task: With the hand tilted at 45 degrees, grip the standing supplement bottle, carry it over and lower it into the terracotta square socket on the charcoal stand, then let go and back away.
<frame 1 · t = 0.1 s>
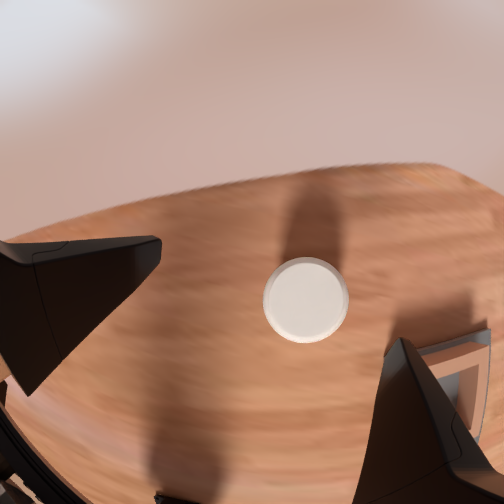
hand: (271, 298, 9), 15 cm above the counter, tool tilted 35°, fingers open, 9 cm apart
socket stand: (426, 395, 19), on the counter
supplement bottle: (305, 300, 23), on the counter
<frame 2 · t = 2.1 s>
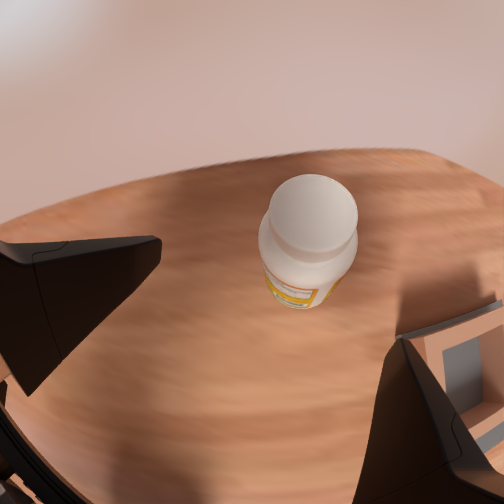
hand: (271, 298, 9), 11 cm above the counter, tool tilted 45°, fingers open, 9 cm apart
socket stand: (448, 380, 16), on the counter
supplement bottle: (300, 275, 21), on the counter
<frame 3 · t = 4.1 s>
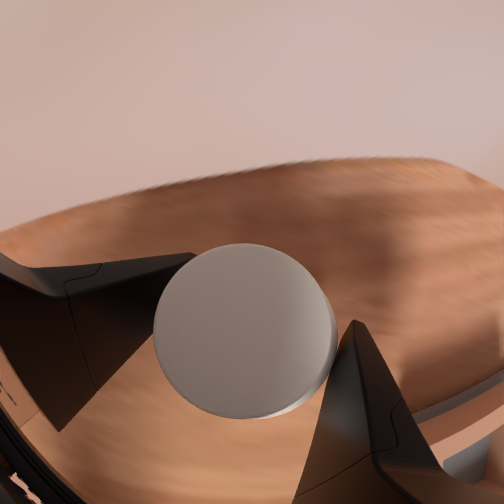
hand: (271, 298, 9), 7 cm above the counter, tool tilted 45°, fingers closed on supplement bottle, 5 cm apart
socket stand: (447, 461, 10), on the counter
supplement bottle: (265, 344, 15), on the counter, touching gripper
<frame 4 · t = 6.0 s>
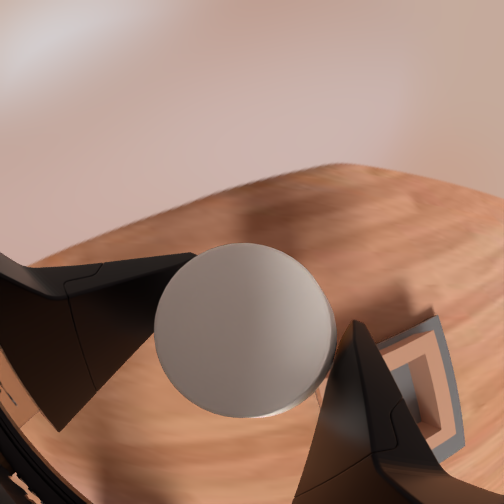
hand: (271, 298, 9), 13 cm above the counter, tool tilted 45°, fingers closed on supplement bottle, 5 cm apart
socket stand: (376, 404, 18), on the counter
supplement bottle: (264, 343, 15), point 6 cm above the counter, touching gripper
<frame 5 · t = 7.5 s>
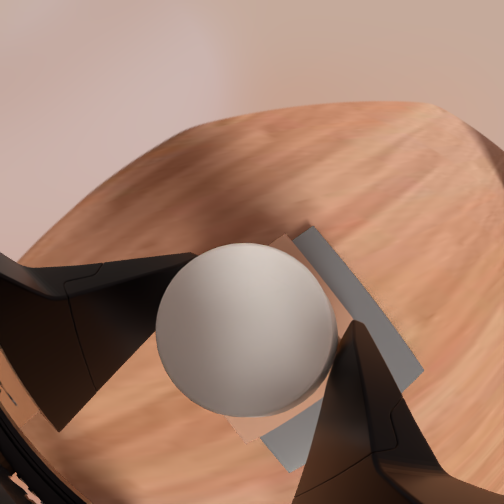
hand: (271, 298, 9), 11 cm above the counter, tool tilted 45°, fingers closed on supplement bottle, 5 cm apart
socket stand: (271, 342, 19), on the counter
supplement bottle: (265, 343, 15), point 4 cm above the counter, touching gripper
when the fingers open (9 cm above the counter, at t = 8.3 s): supplement bottle drops 1 cm, resting on socket stand.
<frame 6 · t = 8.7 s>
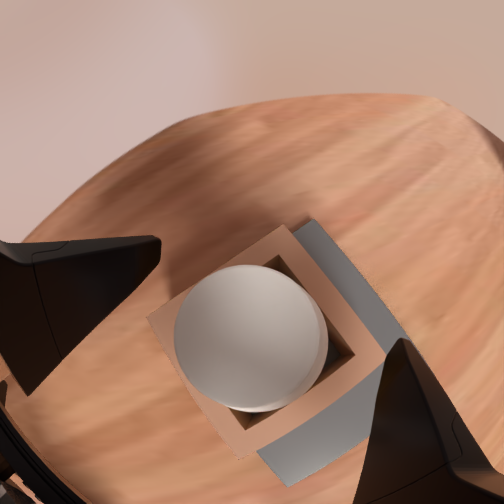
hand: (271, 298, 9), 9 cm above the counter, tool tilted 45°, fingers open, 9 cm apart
socket stand: (267, 345, 17), on the counter
supplement bottle: (265, 348, 16), point 1 cm above the counter, touching socket stand
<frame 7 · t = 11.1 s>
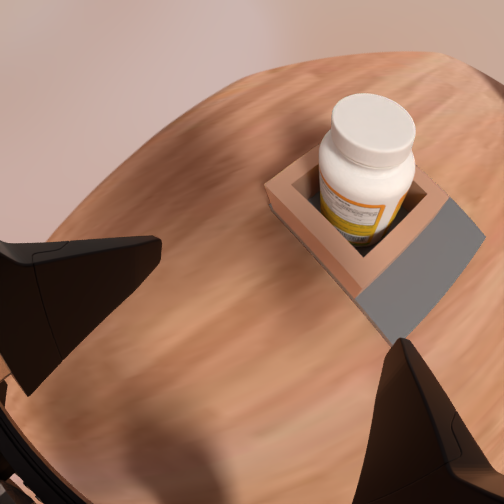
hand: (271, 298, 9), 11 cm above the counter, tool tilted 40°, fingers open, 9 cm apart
socket stand: (355, 218, 20), on the counter
supplement bottle: (355, 215, 19), point 1 cm above the counter, touching socket stand
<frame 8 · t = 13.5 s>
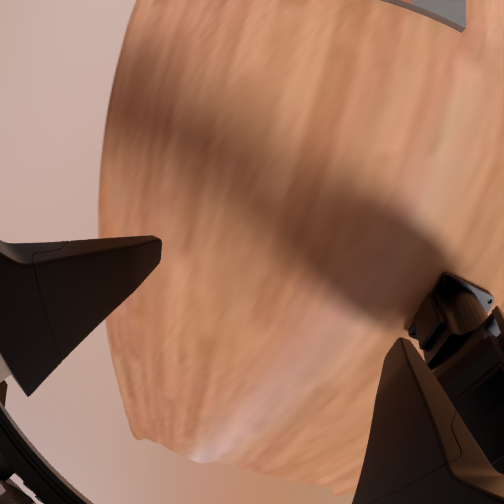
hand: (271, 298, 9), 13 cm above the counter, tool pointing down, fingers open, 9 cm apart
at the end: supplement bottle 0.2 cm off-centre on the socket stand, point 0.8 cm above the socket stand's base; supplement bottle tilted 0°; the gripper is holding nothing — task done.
